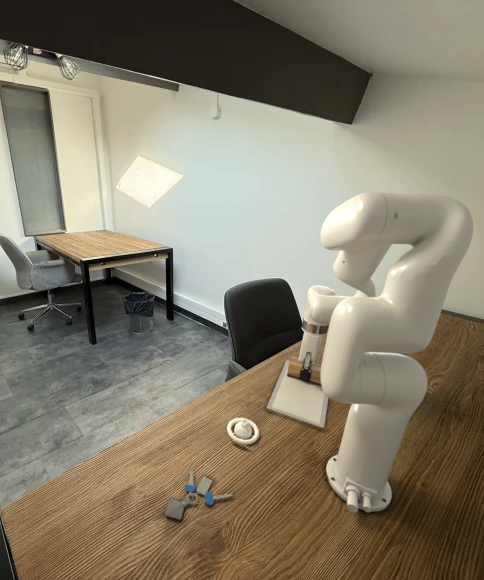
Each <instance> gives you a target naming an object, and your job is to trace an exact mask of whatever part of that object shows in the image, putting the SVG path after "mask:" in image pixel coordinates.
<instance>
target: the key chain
mask: <svg viewBox="0 0 484 580" xmlns="http://www.w3.org/2000/svg"><path fill="white" fill-rule="evenodd" d="M194 480H195V472H194V470H190V471H189V480H188V482H187V483H185V490H186V491H187V493H188V494H187V495H186V498H185V499H183V500H181V501H180V500H177V499H173V498H169V499H168V503H167V505H166V509H165V511H164V516H166V517H168V518H169V517H170V518H173V519H176V520H181V519H182V518H183V514H184V509H185V508H186V507H187V506H190V505H195V504H198V505H199V504H203V503H206V505H208V506H213V504H214V502H215V500H219V499H226V498H230V497H234V495H233V493H225V494H218V495H214V494H213V493H212V492H211V491H209V489H210V487H211V485H212V483H213V480H212V479H210V478H208V477H207V476H204V475H203V477H202V478H201V480H200V482H199V484H198V485H197V488H196V485H195V481H194ZM194 492H195V493H194ZM197 494H200V495H202V496H204V497H203V498H204V499H203V501H202V502H198V501H199V500H198V499H199V497H198V495H197ZM189 497H192V501H193V502H192V501H191V500H190V498H189ZM194 497H195V499H194Z"/></svg>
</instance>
